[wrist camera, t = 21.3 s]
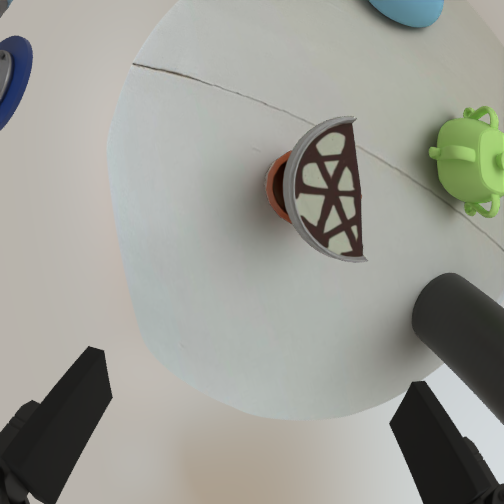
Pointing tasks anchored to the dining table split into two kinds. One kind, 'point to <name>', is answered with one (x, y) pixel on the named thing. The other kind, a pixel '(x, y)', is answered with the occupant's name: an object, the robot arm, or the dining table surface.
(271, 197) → the mug
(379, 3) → the sugar bowl
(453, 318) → the vase
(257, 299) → the dining table surface
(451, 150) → the teapot
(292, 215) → the food container
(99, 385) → the robot arm
